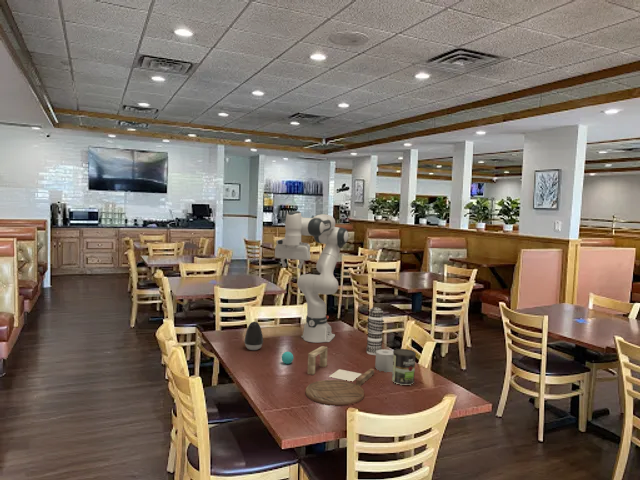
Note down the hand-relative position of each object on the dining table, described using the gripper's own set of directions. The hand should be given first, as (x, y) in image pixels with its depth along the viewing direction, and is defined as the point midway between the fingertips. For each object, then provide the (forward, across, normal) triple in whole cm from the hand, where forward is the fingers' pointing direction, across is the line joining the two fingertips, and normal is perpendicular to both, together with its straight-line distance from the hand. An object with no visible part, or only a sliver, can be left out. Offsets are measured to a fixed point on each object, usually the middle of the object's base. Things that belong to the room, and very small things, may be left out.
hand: (291, 267), depth 256 cm
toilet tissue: (+47, -54, -4) cm, 72 cm away
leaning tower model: (+47, -39, -27) cm, 66 cm away
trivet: (+47, -45, +38) cm, 76 cm away
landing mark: (+47, -40, +15) cm, 63 cm away
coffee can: (+47, -66, +8) cm, 81 cm away
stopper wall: (+47, -50, +15) cm, 70 cm away
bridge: (+47, -25, +15) cm, 55 cm away
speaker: (+47, +20, +4) cm, 51 cm away
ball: (+44, -8, +15) cm, 47 cm away
